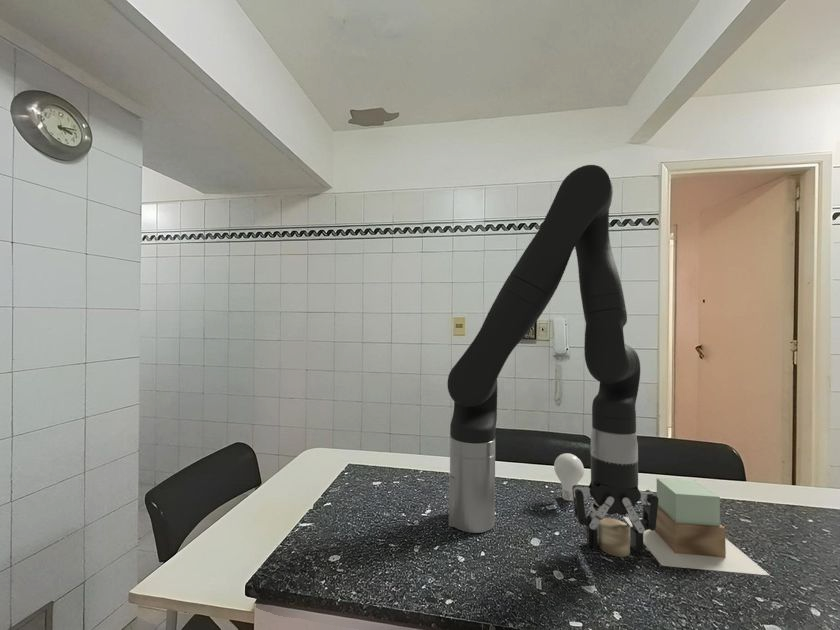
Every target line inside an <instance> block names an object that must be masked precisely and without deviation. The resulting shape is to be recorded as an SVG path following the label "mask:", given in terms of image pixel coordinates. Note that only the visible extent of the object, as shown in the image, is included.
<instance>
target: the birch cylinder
mask: <svg viewBox="0 0 840 630" xmlns="http://www.w3.org/2000/svg"><path fill="white" fill-rule="evenodd" d="M597 539H598V548H599V549H600V550H601V551H602V552H604V553H606V554H607V555H608V554H609V555H610V556H615V557H619V558H622V557H623V558H624V557H628V556H630V554H631V541H630V525H629V524H628V523H626V522H623V521H622V520H620V519H616V518H609V517H604V518H603V520H600V522H599V524H598V526H597Z"/></svg>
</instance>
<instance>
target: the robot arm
mask: <svg viewBox="0 0 840 630" xmlns="http://www.w3.org/2000/svg"><path fill="white" fill-rule="evenodd" d="M613 193H614V186H613V181H612V178H611V175H610V174H609V173H608V171H607V170H606V169H605V168H604V167H602V166H600V165H596V164H586V165H582V166H580V167H577V168H576V169H573V171H571V172H570V173H569V174H568V175H567V176H566V177H565V178H564V179H563V181H562V182H561V184H560V186H559V188H558V189H557V191H556V193H555V197H554V198H553V201H552V204H551V205H550V206H549V209H548V211H547V213H546V216H545V218H543V219H544V220H543V221H542V224H541V225H540V227H539V229H538V231H537V232H536V234H535V235H534V237H532V240H530V243H529V244H528V245H527V246H526V248H525V250H524V251H523V253H522V254H521V256H520V258H519V259H518V261H517V263H516V264H515V266H514V267H513V269H512V270H511V272H510V273H509V275H508V277H507V278H506V279H505V281H504V283H503V285H502V287H501V288H500V290H499V292H498V293H497V296H496V298H495V300H493V301H494V302H493V303H492V304H491V306H490V308H489V310H488V312H487V315H486V317H485V319H484V321H483V323H482V325H481V327H480V329H479V331H478V332H477V334H476V336H475V337H474V339H473V341H472V342H471V343H470V344H469V346H468V347H467V349H466V351H464V353H463V354H462V356H461V357H460V358H459V360H458V361H457V362H456V363H455V365H454V366H453V367H452V368H451V370H450V371H449V373H448V376H447V377H448V378H447V382H446V383H447V391H448V394H449V396H450V398H451V400H452V401H453V402H454V404H453V413H452V416H451V417H452V418H451V422H450V429H449V435H450V437H449V438H450V439H449V441H450V442H449V446H450V447H449V477H448V527H450V528H455V529H457V530H459V531H462V532H465V533H473V534H477V533H478V534H479V533H485V532H489V531H490V530H492V529H493V528H494V526H495V524H496V523H495V520H496V427H497V420H498V419H497V418H498V377H499V375H500V373H501V371H502V369H503V367H504V366H505V363H506V362H507V360H508V358H509V356H510V355H511V353H512V352H513V351H514V349H515V348H516V347H517V345H519V343H520V342H521V341H522V340H523V338H525V336H526V335H527V334H528V333H529V331H530V330H531V329H532V328H533V326H534V325H535V324H536V323H537V321H538V320H539V318H540V317H541V315H542V314H543V312H544V311H545V309H546V308H547V306H548V304H549V303H550V301H551V300H552V298H553V297H554V295H555V292H556V291H557V289H558V287H559V285H560V284H561V283H560V282H561V280H562V278H563V277H564V273H565V271H566V269H567V266H568V264H569V261H570V258H571V256H572V253H573V250H574V249H575V254H576V259H577V261H576V262H577V268H578V269H577V270H578V271H577V272H578V283H579V290H580V292H579V293H580V298H581V303H582V304H581V305H582V310H583V317H584V321H585V330H584V348H583V349H584V359H585V365H586V368H587V370H588V372H589V373H590V375H591V376H592V378H593V379H595V380H596V381H598V382H599V387H598V393H597V394H596V395H595V397H594V398H593V400H592V408H591V410H592V411H591V419H592V420H591V421H592V422H591V435H590V445H589V451H590V483H589V485H588V487H587V486H586V487H585V486H584V487H583V486H582V487H579V486H578V484H577V485H574V486H573V487H572V490H573V500H574V501H573V508H574V516H575V519H577V521H578V524H579V525H582V526H585V537H586V538H585V539H586V542H587V544H588V546H589V547H592V550H593V551H594V550H596V551H597V550H599V549H598V548H599V545H598V524H599V522H600V520H603V518H605V517H606V515H616V514H617V515H620V516H626V515H627V516H626V517H628V518H629V519H630V521H631V523H632V527H630V526H629V528H630V548H631V549H632V550H633V551H634V553H635V554H641V552H642V551H643V550H644V543H643V533H644V531H646V530H649V529H650V530H652V531H653V530H655V529H656V520H657V510H658V497H657V494H655V493H654V492H653V491H651V490H650V489H646V490H645V491H643V490H640V489H639V445H638V438H637V411H636V404H637V399H638V398H637V397H638V392H639V388H640V387H639V385H640V381H641V380H640V379H641V362H640V361H641V360H640V358H639V355H638V353H637V351H636V350H635V349H634V348H633V347H632V346H630V345H629V344H627V343H625V337H624V336H625V335H624V334H625V333H624V327H625V326H626V324H627V322H628V312H627V309H626V302H625V296H624V291H623V286H622V282H621V277H620V275H619V271H618V268H617V265H616V261H615V258H614V255H613V251H612V245H611V240H610V239H611V238H610V225H609V224H610V209H611V208H610V207H611V205H612V202H613V201H612V200H613V199H612V198H613ZM588 496H591V497H592V498H593V501H592V503H591V505H590V507H589V511H588V513H587V514H586V510H585V502H586V501H587V500H588ZM640 500H641V503H643V507H642V517H641V518H642V519H639V518H640V517H639V516H638V513H637V512H636V510H635V508H634V507H635V506H636V505H637V504H638V502H639V501H640Z"/></svg>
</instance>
